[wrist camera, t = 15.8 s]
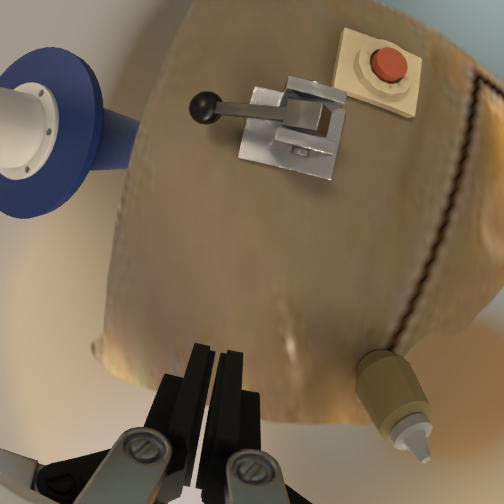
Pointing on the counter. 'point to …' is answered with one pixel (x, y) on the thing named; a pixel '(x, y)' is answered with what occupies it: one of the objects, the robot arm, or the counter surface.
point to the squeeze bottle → (395, 401)
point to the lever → (264, 113)
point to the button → (389, 64)
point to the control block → (367, 82)
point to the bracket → (293, 142)
